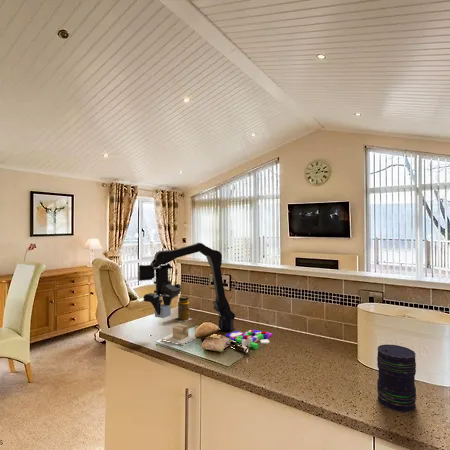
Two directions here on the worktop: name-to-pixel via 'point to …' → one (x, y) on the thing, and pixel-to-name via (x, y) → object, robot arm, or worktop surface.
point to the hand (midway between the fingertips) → (162, 313)
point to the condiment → (183, 309)
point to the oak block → (180, 331)
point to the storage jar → (396, 378)
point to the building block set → (250, 338)
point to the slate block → (164, 311)
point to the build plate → (179, 341)
